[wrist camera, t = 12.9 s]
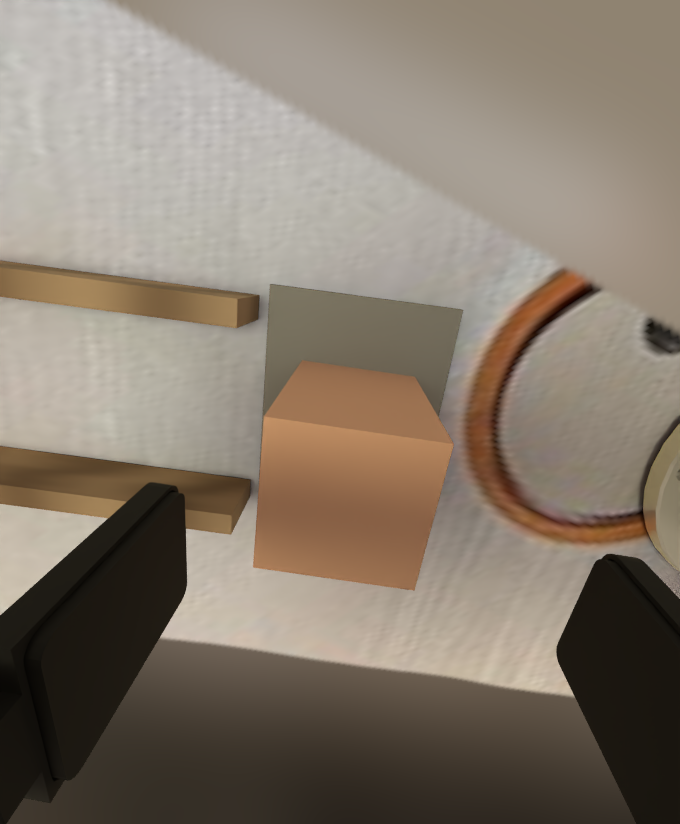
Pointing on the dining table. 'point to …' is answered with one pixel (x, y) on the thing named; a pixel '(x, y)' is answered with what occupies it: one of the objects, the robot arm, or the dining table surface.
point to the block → (349, 476)
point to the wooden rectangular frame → (107, 480)
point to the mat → (358, 338)
